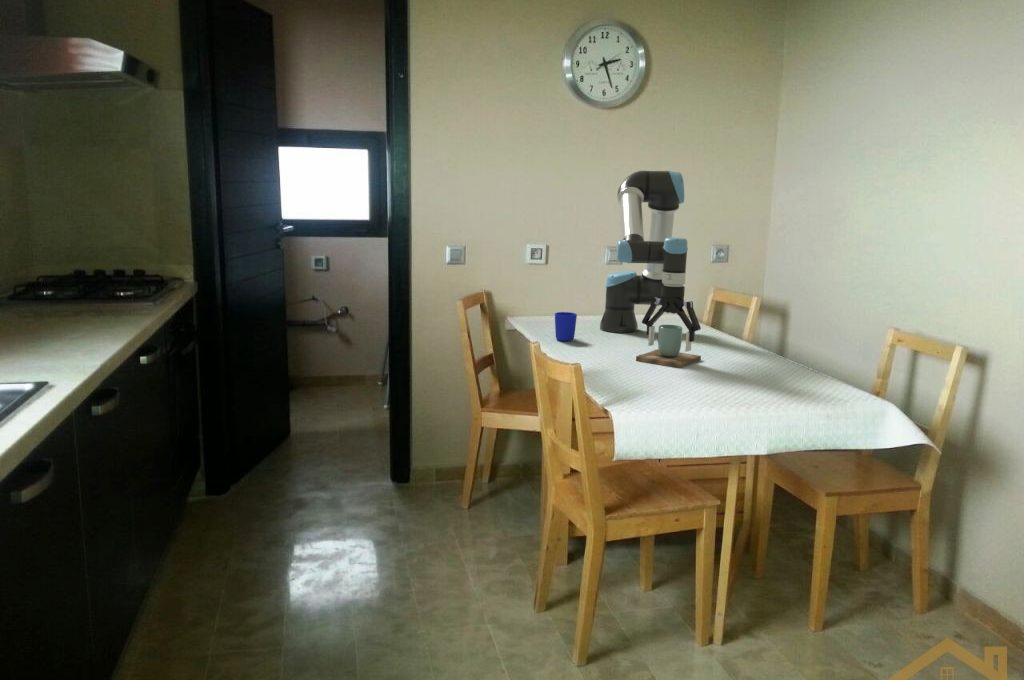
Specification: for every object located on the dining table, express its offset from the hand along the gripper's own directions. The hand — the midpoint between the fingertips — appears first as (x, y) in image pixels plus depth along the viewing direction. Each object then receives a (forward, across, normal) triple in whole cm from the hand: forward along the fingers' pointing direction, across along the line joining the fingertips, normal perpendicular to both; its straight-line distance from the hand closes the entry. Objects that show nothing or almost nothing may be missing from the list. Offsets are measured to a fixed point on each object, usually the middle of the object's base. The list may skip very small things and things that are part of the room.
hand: (669, 348), depth 268 cm
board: (+4, 0, 0) cm, 4 cm away
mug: (+4, -46, +7) cm, 47 cm away
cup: (+3, 0, 0) cm, 3 cm away
